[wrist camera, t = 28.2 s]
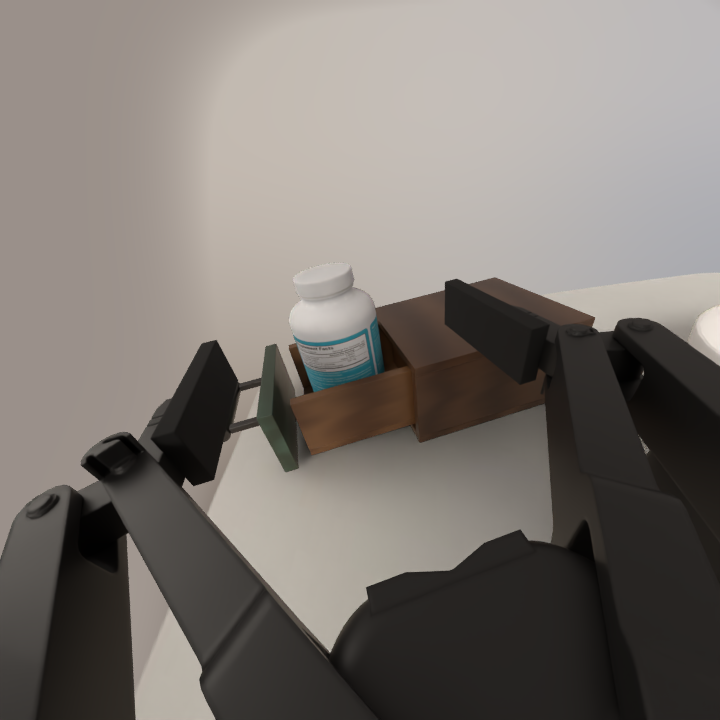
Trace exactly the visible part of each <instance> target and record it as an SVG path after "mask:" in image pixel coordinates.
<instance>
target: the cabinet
mask: <svg viewBox="0 0 720 720" xmlns="http://www.w3.org/2000/svg"><path fill="white" fill-rule="evenodd" d="M469 285H471V286H473V287H475V288H477V289H479V290H481V291H483V292H485V293H487V294H489V295H491V296H493V297H495V298H497V299H499V300H501V301H503V302H505V303H507V304H509V305H513V306H518V307H522V308H524V309H527V310H529V311H531V312H532V313H535V314H537V315H538V316H541V317H543V318H545V319H548V320H550V321H552V322H554V323H556V324H558V325H560V326H562V325H566V324H581V325H586V326H590V327H592V326H593V323H594V320H595V317H593V316H590V315H588V314H585V313H583V312H580V311H578V310H575V309H573V308H570V307H568V306H565V305H563V304H560V303H558V302H555V301H553V300H550V299H548V298H545V297H543V296H540V295H538V294H535V293H533V292H530V291H528V290H525V289H523V288H520V287H518V286H515V285H513V284H510V283H508V282H505V281H503V280H500V279H497V278H491V279H487V280H483V281H479V282H475V283H471V284H469ZM375 310H376V316H377V323H378V325H379V326H380V328H381V329H382V331H383V332H384V333H385V335H386V336H387V338H388V339H389V341H390V342H391V343H392V345H393V346H394V348H395V349H396V350H397V352H398V353H399V355H400V356H401V357H402V359H403V360H404V362H405V363H406V364H407V366H408V367H409V369H410V370H411V372H412V384H413V397H414V411H415V424H412V425H410V426H411V428H412V429H413V431H414V433H415V435H416V437H417V439H418V440H419V442H420V443H421V442H424V441H427V440H430V439H433V438H437V437H440V436H443V435H446V434H449V433H452V432H456V431H459V430H462V429H465V428H468V427H471V426H474V425H478V424H481V423H484V422H487V421H490V420H493V419H497V418H500V417H503V416H506V415H509V414H512V413H516V412H519V411H522V410H525V409H528V408H531V407H535V406H538V405H541V404H544V403H545V392H544V393H543V394H540V392H541V389H542V385H543V382H544V378H545V374H546V373H544V372H543V371H541V370H540V369H538V373H537V377H536V380H535V381H532V382H528V383H525V384H522V385H519V384H518V383H517V382H516V381H514V380H513V379H512V378H511V377H509V376H508V375H507V374H506V373H505V372H503V371H502V370H501V369H500V368H498V367H497V366H496V365H495V364H493V363H492V362H491V361H490V360H488V359H487V358H486V357H485V356H484V355H482V354H481V353H480V352H479V351H477V350H476V349H475V348H474V347H472V346H471V345H470V344H469V343H467V342H466V341H465V340H464V339H462V338H461V337H460V336H459V335H458V334H456V333H455V332H454V331H453V330H451V329H450V328H449V327H448V326H446V325H445V290H444V291H440V292H436V293H433V294H428V295H425V296H421V297H417V298H413V299H409V300H405V301H401V302H397V303H393V304H389V305H385V306H382V307H378V308H375Z"/></svg>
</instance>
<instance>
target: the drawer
mask: <svg viewBox="0 0 720 720" xmlns="http://www.w3.org/2000/svg"><path fill="white" fill-rule="evenodd" d="M378 329H379V336H380V342H381V349H382V355H383V362H384V368H385V372H384V373H380V374H377V375H373V376H370V377H366V378H362V379H359V380H355V381H352V382H348V383H345V384H341V385H338V386H334V387H331V388H327V389H324V390H320V391H317V392H314V391H313V388H312V386H311V383H310V380H309V377H308V375H307V372H306V369H305V366H304V363H303V361H302V358H301V355H300V352H299V350H298V347H297V344H296V343H295V344H292V345H289V350H290V353H291V356H292V358H293V361H294V364H295V366H296V369H297V372H298V374H299V377H300V380H301V382H302V385H303V387H304V395H302V396H299V397H295V390H294V387H293V384H292V382H291V379H290V377H289V374H288V372H287V369H286V367H285V364H284V362H283V359H282V357H281V354H280V352H279V349H278V347H277V345H276V344H273V345H270V346H266V349H265V357H264V363H263V371H262V378H259V379H256V380H251V381H248V382H244V383H238V382H237V386H236V391H235V395H234V399H233V403H232V407H231V411H230V415H229V420H228V424H227V428H226V432H225V436H224V440H223V442H225V441H227V440H228V439H229V438H230V436H231V433H235V432H239V431H242V430H246V429H249V428H253V427H256V426H259V425H260V427H261V428H262V430H263V432H264V434H265V436H266V438H267V439H268V441H269V443H270V445H271V447H272V449H273V450H274V452H275V454H276V456H277V458H278V460H279V461H280V463H281V465H282V467H283V469H284V471H285V472H289V471H292V470H295V469H298V468H299V466H298V446H297V425H296V420H297V422H298V425H299V427H300V429H301V432H302V434H303V436H304V439H305V441H306V443H307V446H308V448H309V450H310V452H311V455H314V454H318V453H321V452H324V451H327V450H331V449H334V448H337V447H340V446H344V445H347V444H350V443H353V442H357V441H360V440H363V439H366V438H370V437H373V436H376V435H379V434H383V433H386V432H389V431H392V430H396V429H399V428H402V427H405V426H409V425H412V424H415V411H414V397H413V384H412V372H411V370H410V369H409V367H408V366H407V364H406V363H405V362H404V360H403V359H402V357H401V356H400V355H399V353H398V352H397V350H396V349H395V348H394V346H393V345H392V343H391V342H390V341H389V339H388V338H387V336H386V335H385V333H384V332H383V331H382V329H381V328H380V326H379V325H378ZM258 386H261V387H260V395H259V402H258V410H257V417H254V418H251V419H247V420H244V421H240V422H237V423H234V418H235V414H236V410H237V405H238V401H239V396H240V392H241V391H243V390H247V389H250V388H254V387H258Z"/></svg>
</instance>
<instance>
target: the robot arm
mask: <svg viewBox="0 0 720 720" xmlns="http://www.w3.org/2000/svg"><path fill="white" fill-rule="evenodd" d="M445 325H446V326H448V327H449V328H450V329H451V330H453V331H454V332H455V333H456V334H458V335H459V336H460V337H461V338H462V339H464V340H465V341H466V342H467V343H469V344H470V345H471V346H472V347H474V348H475V349H476V350H477V351H479V352H480V353H481V354H482V355H484V356H485V357H486V358H487V359H488V360H490V361H491V362H492V363H493V364H495V365H496V366H497V367H498V368H500V369H501V370H502V371H503V372H505V373H506V374H507V375H508V376H509V377H511V378H512V379H513V380H514V381H516V382H517V383H518V384H519V385H522V384H525V383H528V382H532V381H535V380H536V377H537V373H538V369H540V370H541V371H543V372H544V373H546V374H545V378H544V382H543V385H542V389H541V392H540V394H543V393H544V392H545V407H546V422H547V437H548V452H549V467H550V482H551V497H552V512H553V534H552V540H551V543H546V542H541V541H528V540H527V538H526V537H525V535H524V534H523V533H522V531H521V530H518V531H515V532H512V533H510V534H507V535H504V536H502V537H499V538H496V539H494V540H491V541H488V542H486V543H484V544H483V545H481V546H480V547H479V548H478V549H477V550H476V551H474V552H473V553H472V554H471V555H470V556H468V557H467V558H466V559H465V560H464V561H463V562H461V563H460V564H459V565H458V566H457V567H455V568H454V569H452V570H450V571H432V572H406V573H403V574H400V575H398V576H395V577H392V578H390V579H387V580H384V581H382V582H379V583H376V584H374V585H371V586H368V587H366V590H367V595H368V600H367V601H365V602H364V603H363V604H362V605H361V606H360V607H359V608H358V609H357V610H356V611H355V612H354V613H353V614H352V616H351V617H350V618H349V620H348V621H347V622H346V624H345V625H344V627H343V629H342V630H341V632H340V634H339V636H338V637H337V639H336V642H335V644H334V646H333V648H332V651H331V653H330V652H329V651H328V650H327V649H326V648H325V647H324V646H323V645H322V643H321V642H320V641H319V640H318V639H317V638H316V637H315V636H314V635H313V634H312V633H311V632H310V630H309V629H308V628H307V627H306V626H305V625H304V624H303V623H302V622H301V621H300V620H299V618H298V617H297V616H296V615H295V614H294V613H293V612H292V611H291V609H290V608H289V607H288V606H287V605H286V604H285V603H284V602H283V600H282V599H281V598H280V597H279V596H278V595H277V594H276V592H275V591H274V590H273V589H272V588H271V587H270V586H269V585H268V583H267V582H266V581H265V580H264V579H263V578H262V577H261V576H260V574H259V573H258V572H257V571H256V570H255V569H254V568H253V567H252V565H251V564H250V563H249V562H248V561H247V560H246V559H245V558H244V556H243V555H242V554H241V553H240V552H239V551H238V550H237V548H236V547H235V546H234V545H233V544H232V543H231V542H230V541H229V539H228V538H227V537H226V536H225V535H224V534H223V533H222V532H221V530H220V529H219V528H218V527H217V526H216V525H215V524H214V523H213V521H212V520H211V519H210V518H209V517H208V516H207V515H206V514H205V512H204V511H203V510H202V509H201V508H200V507H199V506H198V505H197V503H196V502H195V501H194V500H193V499H192V498H191V497H190V495H189V494H188V493H187V492H186V491H185V490H184V489H183V488H182V485H183V482H184V480H185V477H186V479H187V480H188V481H189V482H190V483H191V484H192V485H193V486H195V485H199V484H202V483H205V482H208V481H212V480H214V478H215V473H216V469H217V465H218V461H219V457H220V453H221V448H222V444H223V440H224V436H225V432H226V428H227V424H228V420H229V415H230V411H231V407H232V403H233V399H234V395H235V391H236V386H237V382H238V379H237V377H236V376H235V374H234V372H233V370H232V368H231V367H230V364H229V363H228V361H227V359H226V357H225V355H224V353H223V351H222V349H221V347H220V346H219V344H218V342H217V340H215V341H210V342H206V343H203V344H201V346H200V348H199V349H198V351H197V353H196V355H195V357H194V359H193V361H192V362H191V364H190V366H189V368H188V370H187V372H186V374H185V375H184V377H183V379H182V381H181V383H180V384H179V387H178V388H177V390H176V392H175V394H174V396H173V397H172V398H171V399H168V400H166V401H165V402H164V403H163V404H162V405H161V406H160V407H158V408H157V410H156V411H155V413H154V415H153V416H152V420H150V421H149V423H148V425H147V427H146V428H145V430H144V432H143V433H142V435H141V437H140V439H139V440H138V441H137V440H136V439H135V438H134V437H133V436H132V435H131V434H130V433H128V432H121V433H117V434H114V435H111V436H109V437H107V438H105V439H103V440H101V441H100V442H99V443H97V444H96V445H94V446H93V447H92V448H91V449H90V450H89V451H88V452H87V453H86V454H85V455H84V457H83V458H82V460H81V466H82V467H84V468H85V469H86V470H87V471H88V472H90V473H91V474H92V475H93V476H95V477H96V478H97V479H98V480H99V481H97V482H95V483H93V484H91V485H89V486H87V487H85V488H84V489H81V490H79V491H76V490H74V489H73V488H71V487H70V486H67V485H61V486H56V487H54V488H52V489H49V490H47V491H46V492H44V493H42V494H41V495H38V496H37V497H35V498H34V499H33V500H32V501H30V502H29V503H28V504H26V506H25V507H24V508H23V509H22V510H21V511H20V512H19V513H18V515H17V516H16V518H15V520H14V521H13V523H12V526H11V529H10V532H9V535H8V538H7V541H6V544H5V547H4V550H3V553H2V556H1V559H0V720H136V719H135V699H134V679H133V659H132V638H131V619H130V597H129V577H128V559H127V558H128V557H127V537H126V534H127V533H129V534H130V536H131V538H132V539H133V541H134V543H135V545H136V547H137V549H138V550H139V552H140V554H141V556H142V558H143V560H144V561H145V563H146V565H147V567H148V569H149V571H150V572H151V574H152V576H153V578H154V580H155V581H156V583H157V585H158V587H159V589H160V591H161V592H162V594H163V596H164V598H165V600H166V602H167V603H168V605H169V607H170V609H171V611H172V612H173V614H174V616H175V618H176V620H177V622H178V623H179V625H180V627H181V629H182V631H183V632H184V634H185V636H186V638H187V640H188V642H189V643H190V645H191V647H192V649H193V651H194V653H195V654H196V656H197V658H198V660H199V662H200V664H201V666H202V674H201V676H200V679H199V680H200V686H201V690H202V692H203V694H204V697H205V699H206V701H207V703H208V705H209V707H210V709H211V711H212V713H213V715H214V717H215V719H216V720H720V585H719V582H718V580H717V578H716V575H715V573H714V571H713V569H712V566H711V564H710V562H709V559H708V557H707V555H706V552H705V550H704V548H703V546H702V543H701V541H700V539H699V536H698V534H697V532H696V529H695V527H694V525H693V523H692V520H691V518H690V516H689V513H688V511H687V509H686V507H685V506H684V504H683V502H682V501H681V500H680V499H679V498H678V497H676V496H675V495H672V494H669V493H665V492H661V491H660V489H659V488H658V486H657V483H656V480H655V478H654V475H653V473H652V470H651V467H650V465H649V462H648V459H647V457H646V454H645V451H644V449H643V446H642V444H641V441H640V438H641V439H642V440H643V442H644V443H645V444H646V446H647V447H648V448H649V450H650V451H651V452H652V454H653V455H654V456H655V457H656V459H657V460H658V461H659V463H660V464H661V465H662V467H663V468H664V469H665V471H666V472H667V473H668V475H669V476H670V477H671V479H672V480H673V481H674V483H675V484H676V485H677V487H678V488H679V489H680V491H681V492H682V493H683V495H684V496H685V497H686V499H687V500H688V501H689V503H690V504H691V505H692V507H693V508H694V509H695V511H696V512H697V513H698V514H699V516H700V517H701V518H702V520H703V521H704V522H705V524H706V525H707V526H708V528H709V529H710V530H711V532H712V533H713V534H714V536H715V537H716V538H717V540H718V541H719V542H720V366H719V365H717V364H716V363H715V362H713V361H712V360H710V359H709V358H708V357H706V356H705V355H703V354H702V353H701V352H699V351H698V350H696V349H695V348H693V347H692V346H691V345H689V344H688V343H686V342H685V341H684V340H682V339H681V338H679V337H678V336H677V335H675V334H674V333H672V332H671V331H670V330H668V329H667V328H665V327H664V326H662V325H661V324H659V323H657V322H654V321H650V320H648V319H642V318H628V319H622V320H620V321H618V323H617V325H616V328H615V330H614V331H610V332H598V331H597V330H596V329H594V328H592V327H590V326H586V325H581V324H566V325H562V326H560V325H558V324H556V323H554V322H552V321H550V320H548V319H545V318H543V317H541V316H538V315H537V314H535V313H532V312H531V311H529V310H527V309H524V308H522V307H518V306H513V305H509V304H507V303H505V302H503V301H501V300H499V299H497V298H495V297H493V296H491V295H489V294H487V293H485V292H483V291H481V290H479V289H477V288H475V287H473V286H471V285H469V284H466V283H464V282H462V281H461V280H458V279H454V280H450V281H446V282H445ZM643 371H644V376H643V375H642V373H643ZM638 435H639V436H640V438H639V436H638Z"/></svg>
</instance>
